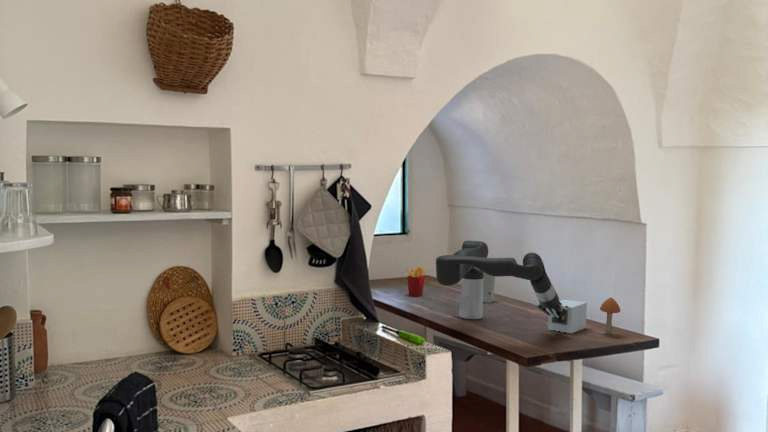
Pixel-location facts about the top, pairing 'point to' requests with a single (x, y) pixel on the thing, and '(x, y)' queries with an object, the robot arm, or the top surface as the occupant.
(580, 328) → the block
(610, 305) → the mushroom
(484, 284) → the skincare box
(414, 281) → the french fries
